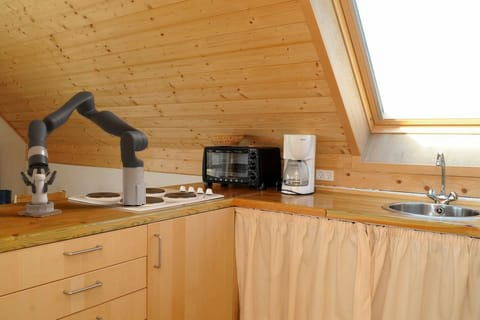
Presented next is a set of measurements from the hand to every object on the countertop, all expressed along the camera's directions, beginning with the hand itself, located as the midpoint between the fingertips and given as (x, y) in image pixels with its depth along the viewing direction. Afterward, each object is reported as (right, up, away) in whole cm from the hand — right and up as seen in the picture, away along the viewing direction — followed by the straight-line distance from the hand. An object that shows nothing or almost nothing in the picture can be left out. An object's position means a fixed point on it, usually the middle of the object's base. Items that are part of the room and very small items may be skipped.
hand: (39, 192), depth 157 cm
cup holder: (-1, -9, +2) cm, 9 cm away
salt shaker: (-1, -6, +2) cm, 7 cm away
